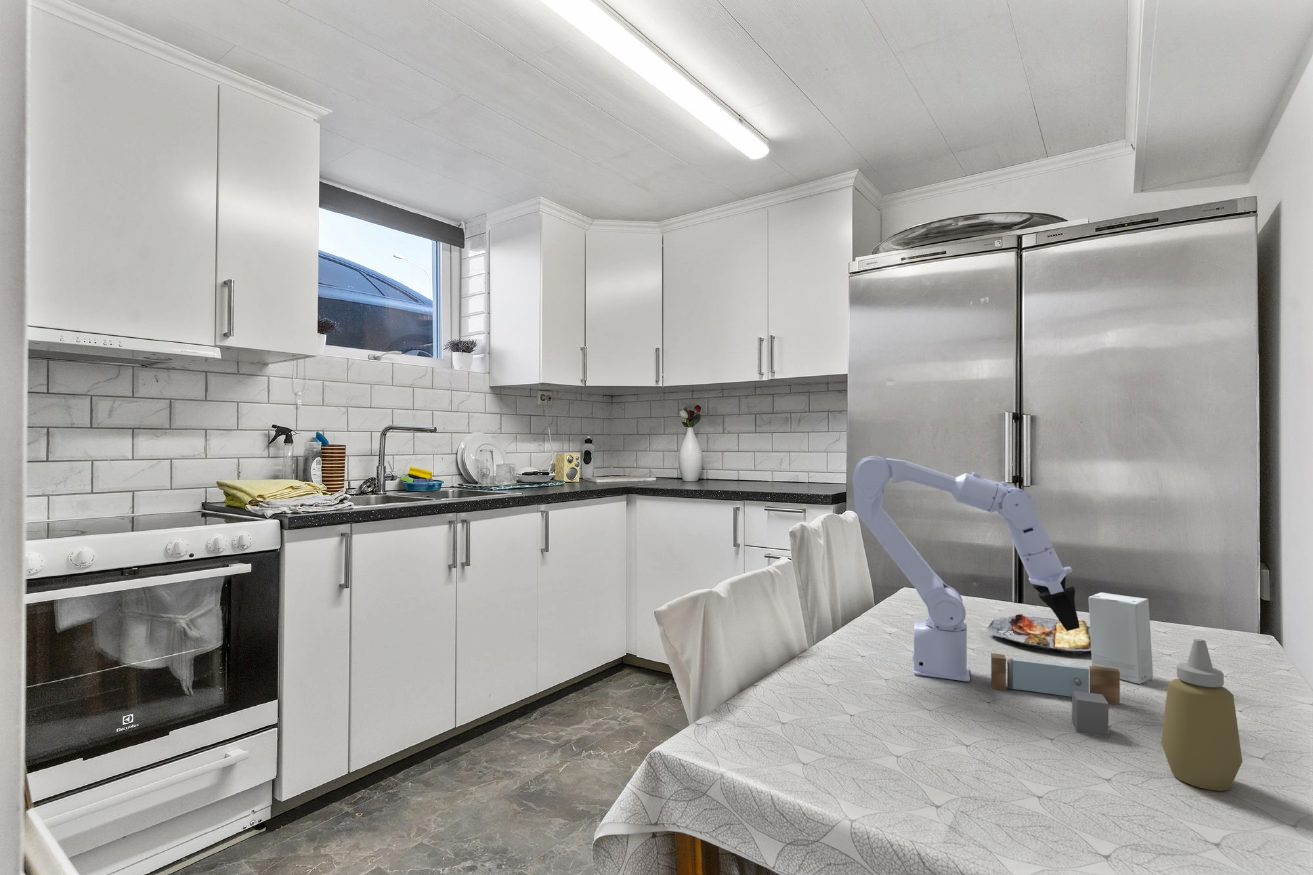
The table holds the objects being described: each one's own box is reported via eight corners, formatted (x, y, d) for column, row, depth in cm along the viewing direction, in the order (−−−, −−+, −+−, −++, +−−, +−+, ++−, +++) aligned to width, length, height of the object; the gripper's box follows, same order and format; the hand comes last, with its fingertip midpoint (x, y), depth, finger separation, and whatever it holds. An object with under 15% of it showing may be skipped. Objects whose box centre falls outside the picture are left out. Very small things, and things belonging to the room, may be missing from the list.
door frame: (992, 688, 116) (991, 657, 116) (991, 683, 118) (991, 653, 118) (1120, 705, 108) (1120, 672, 108) (1117, 700, 110) (1116, 667, 111)
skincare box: (1153, 679, 121) (1153, 598, 121) (1139, 685, 117) (1139, 603, 118) (1102, 666, 128) (1102, 590, 128) (1088, 672, 124) (1087, 594, 125)
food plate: (999, 618, 162) (999, 604, 162) (1113, 636, 149) (1113, 620, 149) (980, 646, 142) (980, 630, 142) (1111, 669, 128) (1111, 651, 128)
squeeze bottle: (1145, 766, 88) (1144, 632, 88) (1200, 764, 88) (1200, 630, 89) (1200, 798, 80) (1199, 650, 80) (1260, 795, 80) (1259, 649, 81)
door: (1008, 689, 115) (1008, 661, 115) (1007, 685, 116) (1007, 657, 116) (1090, 701, 110) (1090, 671, 110) (1087, 696, 112) (1087, 667, 112)
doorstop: (1076, 732, 98) (1076, 699, 98) (1072, 722, 102) (1072, 690, 102) (1108, 737, 96) (1108, 703, 97) (1102, 727, 100) (1102, 694, 100)
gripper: (1066, 550, 110) (1102, 628, 108) (1053, 537, 124) (1085, 606, 122) (1022, 563, 113) (1057, 639, 111) (1014, 549, 126) (1044, 617, 124)
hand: (1069, 623), depth 116 cm, fingers open, 7 cm apart
